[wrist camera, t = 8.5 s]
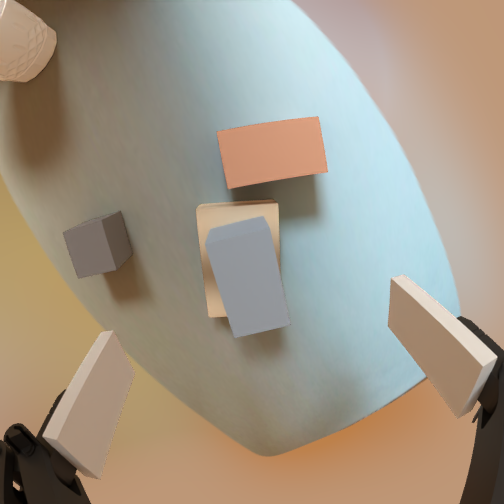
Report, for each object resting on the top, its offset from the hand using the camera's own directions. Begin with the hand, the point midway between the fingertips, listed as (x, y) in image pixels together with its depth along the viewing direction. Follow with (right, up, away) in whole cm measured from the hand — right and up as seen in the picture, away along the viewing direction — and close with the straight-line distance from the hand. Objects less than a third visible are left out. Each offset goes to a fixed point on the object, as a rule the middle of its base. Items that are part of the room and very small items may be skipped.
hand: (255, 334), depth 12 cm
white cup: (-23, +24, +4) cm, 34 cm away
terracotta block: (+1, +12, +10) cm, 15 cm away
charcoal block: (-13, +5, +11) cm, 18 cm away
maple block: (-1, +4, +12) cm, 13 cm away
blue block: (0, +3, +10) cm, 10 cm away
